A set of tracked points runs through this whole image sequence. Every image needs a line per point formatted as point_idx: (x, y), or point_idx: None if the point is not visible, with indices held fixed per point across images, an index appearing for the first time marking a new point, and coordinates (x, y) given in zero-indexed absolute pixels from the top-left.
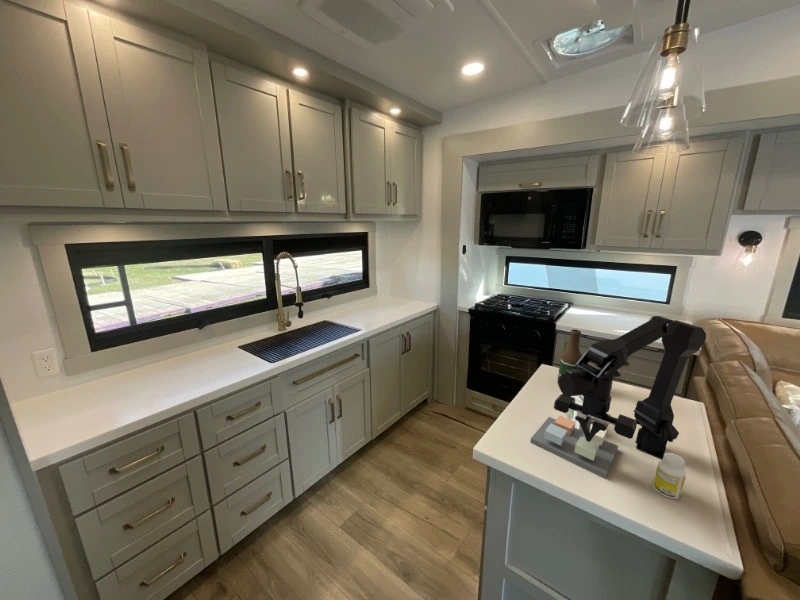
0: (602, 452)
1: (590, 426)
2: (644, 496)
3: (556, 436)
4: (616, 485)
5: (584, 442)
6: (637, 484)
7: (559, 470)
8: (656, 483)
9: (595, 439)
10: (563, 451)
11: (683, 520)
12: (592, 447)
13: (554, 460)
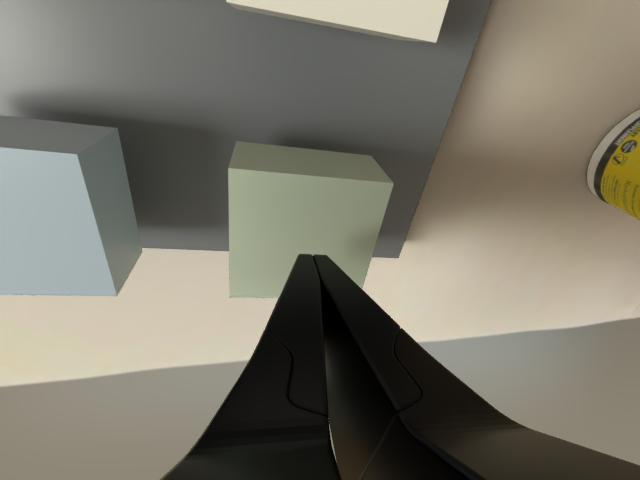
0: (395, 72)
1: (324, 351)
2: (518, 240)
3: (68, 292)
4: (428, 249)
5: (279, 240)
6: (518, 190)
7: (214, 308)
8: (615, 194)
9: (354, 29)
10: (175, 230)
11: (597, 266)
12: (340, 258)
13: (167, 270)
